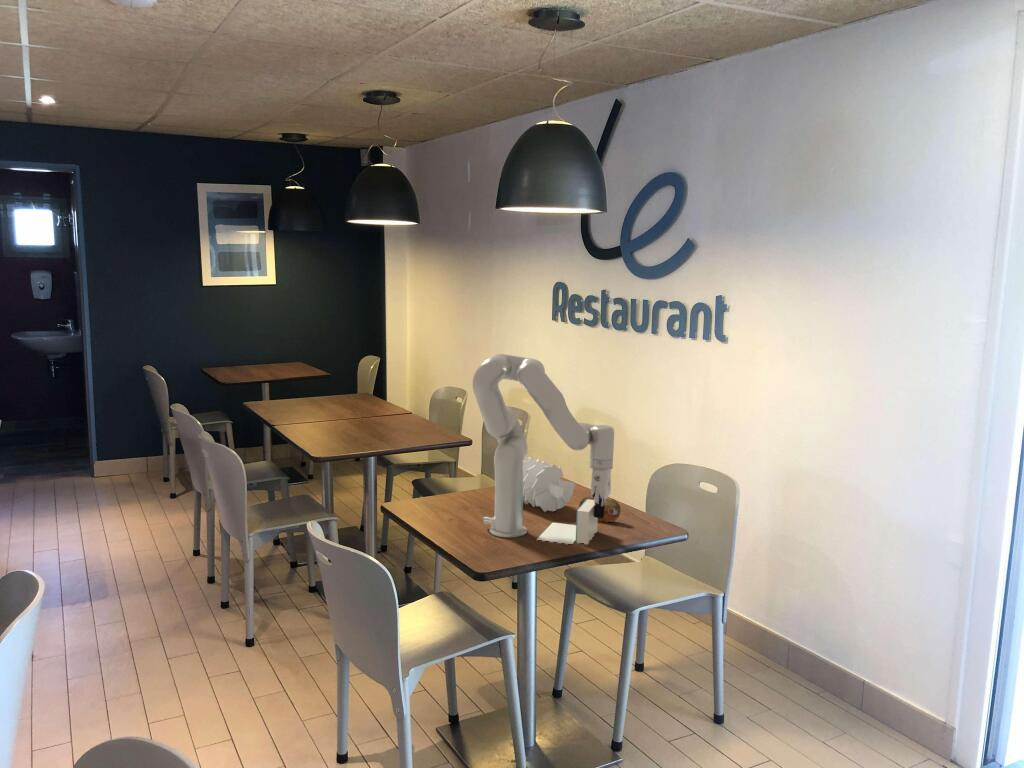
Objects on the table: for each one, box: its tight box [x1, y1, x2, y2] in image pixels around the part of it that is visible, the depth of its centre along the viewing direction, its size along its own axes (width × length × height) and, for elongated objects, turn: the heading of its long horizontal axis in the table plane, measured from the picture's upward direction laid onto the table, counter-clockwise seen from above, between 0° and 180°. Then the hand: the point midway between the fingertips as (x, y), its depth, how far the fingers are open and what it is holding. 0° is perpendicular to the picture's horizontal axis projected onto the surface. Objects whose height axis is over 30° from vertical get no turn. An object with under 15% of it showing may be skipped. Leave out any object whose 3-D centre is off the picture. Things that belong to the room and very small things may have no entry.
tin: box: [578, 495, 621, 523], centre depth 288 cm, size 15×3×8 cm, turn 62°
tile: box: [575, 499, 599, 545], centre depth 269 cm, size 4×14×11 cm, turn 161°
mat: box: [536, 522, 576, 545], centre depth 273 cm, size 12×19×1 cm, turn 161°
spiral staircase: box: [523, 456, 576, 513], centre depth 303 cm, size 18×18×25 cm
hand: (599, 516), depth 268 cm, fingers closed
